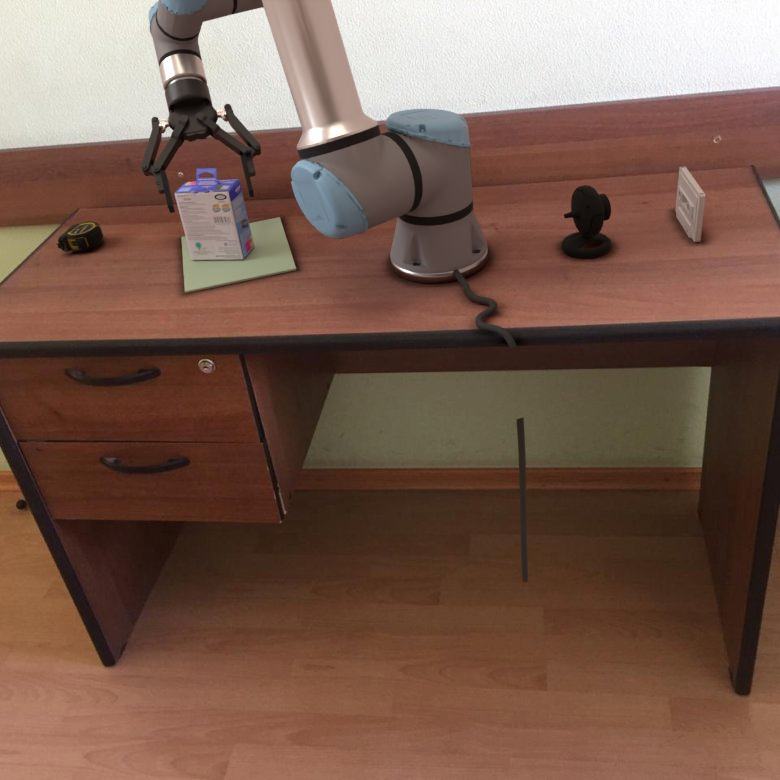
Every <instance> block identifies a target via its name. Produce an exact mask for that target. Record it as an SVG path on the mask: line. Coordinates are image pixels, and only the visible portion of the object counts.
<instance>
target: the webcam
mask: <svg viewBox="0 0 780 780" xmlns="http://www.w3.org/2000/svg"><path fill="white" fill-rule="evenodd" d="M570 210H571V211H569V212H566V213H564V214H563V217H564V219H565V220H567V219H572V220H573V223H574V225H575V227H576V229H577V231H576V232H572V233H569V234H568V235H566V236H565V237H564V238H563V239H562V240H561V249H562V251H563V252H565V254H567V255H569V256H571V257H574V258H578V259H579V258H580V259H593V258H597V257H600V256H603V255H605V254H607V253H608V252H609V251H610V249H611V247H612V241H611V238H610V237H609V236H608V235H606V234H604V233H602V232H601V231H602V229H603V226H604V222H606V221H609V219H610V218H611V215H612V205H611V202H610V199H609V197H608V196H607V194H605V193H598V191H597V190H596V189H595V188H594V187H593V186H591V185H589V184H588V185H587V184H584V185H580V186H577V187H576V188H575V189H574V190H573V192H572V195H571V199H570ZM591 243H599V244H600V245H598V246H595V247H588V248H586V247H585V248H582V247H583V246H586V245H588V244H591Z"/></svg>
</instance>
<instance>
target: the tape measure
mask: <svg viewBox="0 0 780 780" xmlns="http://www.w3.org/2000/svg"><path fill="white" fill-rule="evenodd" d="M103 233H104V232H103V230H102V227H101V226H100V224H99V223H98V222H96V221H91V220H89V221H83V222H79V223H76V224H73V225H71V226H70V227H68V228H67V229H66V230H65V231H64V232H63V233H62V234H61V235H60V236H59V237H58V238H57V243H56V245H57V248H58V249H60V250H61V251H63V252H71V251H75V252H81V251H87V250H90V249H93V248H95V247H96V246H98V245H100V244H101V243H102V242H103V240H104V234H103Z"/></svg>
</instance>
